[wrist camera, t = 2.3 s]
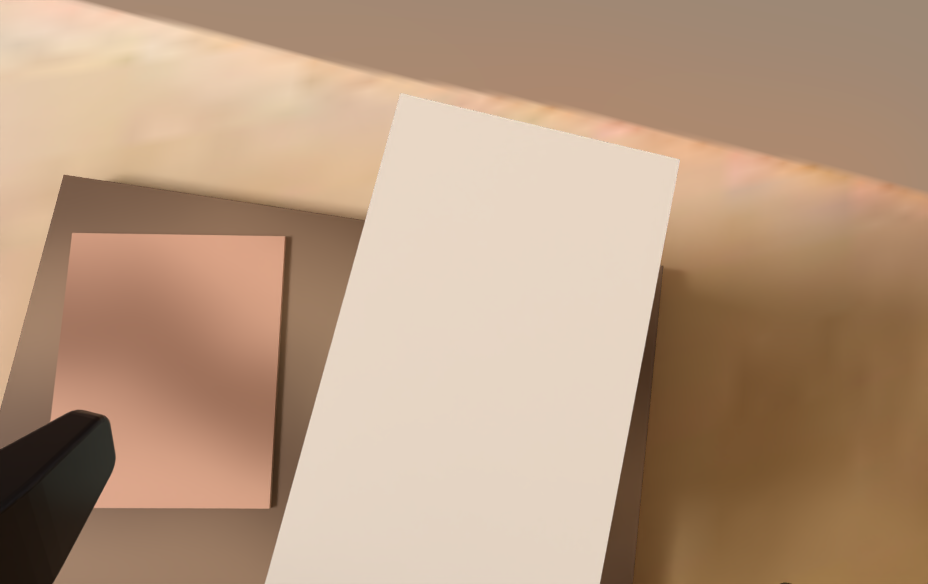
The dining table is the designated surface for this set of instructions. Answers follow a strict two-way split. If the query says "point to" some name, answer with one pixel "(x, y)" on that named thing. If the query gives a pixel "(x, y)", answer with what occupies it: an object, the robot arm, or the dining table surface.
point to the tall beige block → (481, 359)
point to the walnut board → (205, 375)
